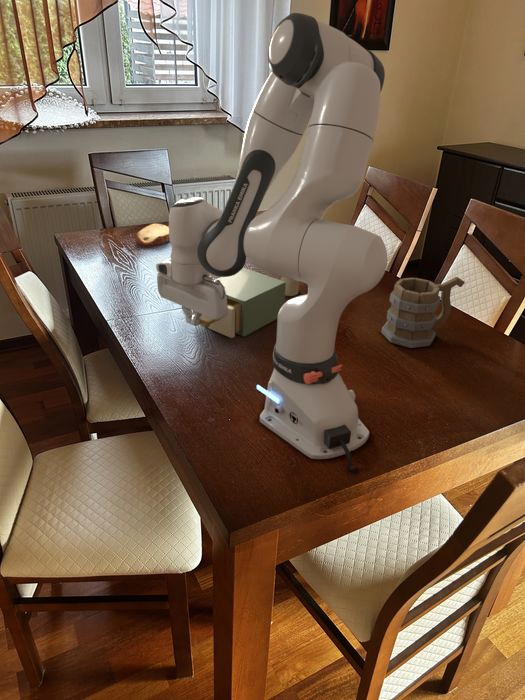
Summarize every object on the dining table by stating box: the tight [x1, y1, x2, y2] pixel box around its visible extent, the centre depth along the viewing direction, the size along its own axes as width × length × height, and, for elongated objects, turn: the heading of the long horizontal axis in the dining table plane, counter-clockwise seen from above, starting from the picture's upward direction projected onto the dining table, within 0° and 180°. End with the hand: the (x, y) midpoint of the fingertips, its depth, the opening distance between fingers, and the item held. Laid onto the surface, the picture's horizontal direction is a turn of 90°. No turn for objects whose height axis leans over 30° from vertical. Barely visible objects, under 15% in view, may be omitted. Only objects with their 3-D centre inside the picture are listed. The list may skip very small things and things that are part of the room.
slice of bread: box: [135, 223, 170, 248], centre depth 197 cm, size 18×18×4 cm
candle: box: [280, 277, 300, 297], centre depth 155 cm, size 6×6×10 cm
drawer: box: [193, 303, 242, 339], centre depth 135 cm, size 21×14×8 cm, turn 141°
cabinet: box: [218, 267, 286, 337], centre depth 140 cm, size 17×15×10 cm
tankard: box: [380, 276, 466, 349], centre depth 133 cm, size 20×13×15 cm, turn 105°
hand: (193, 323), depth 127 cm, fingers closed, pressing on drawer
